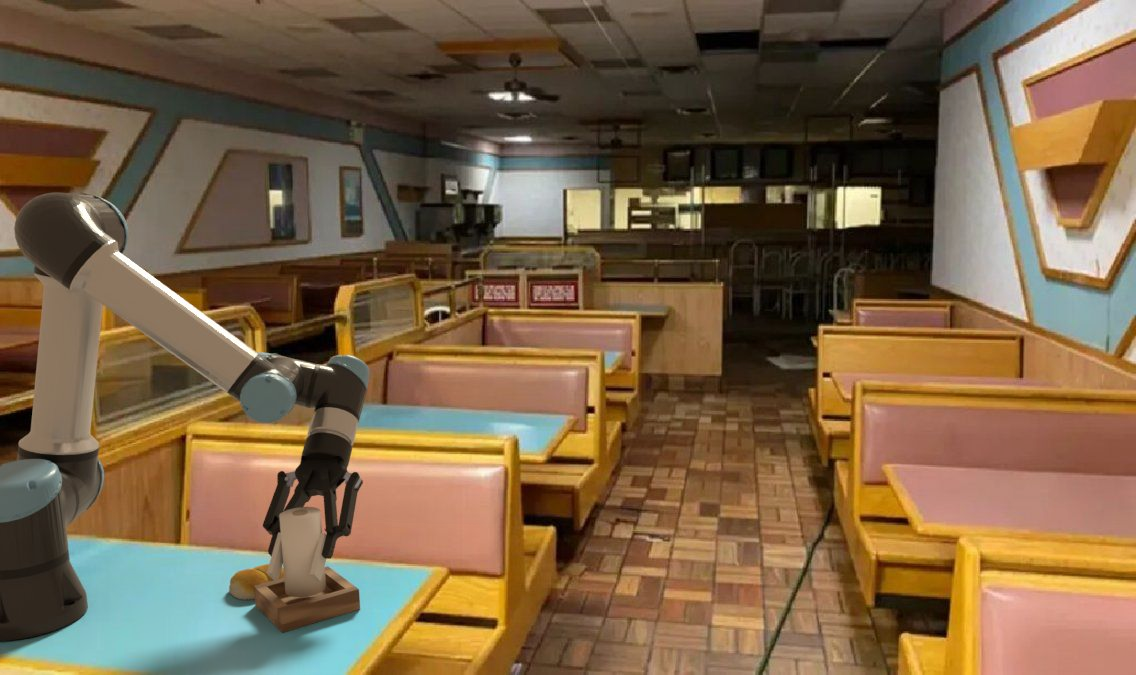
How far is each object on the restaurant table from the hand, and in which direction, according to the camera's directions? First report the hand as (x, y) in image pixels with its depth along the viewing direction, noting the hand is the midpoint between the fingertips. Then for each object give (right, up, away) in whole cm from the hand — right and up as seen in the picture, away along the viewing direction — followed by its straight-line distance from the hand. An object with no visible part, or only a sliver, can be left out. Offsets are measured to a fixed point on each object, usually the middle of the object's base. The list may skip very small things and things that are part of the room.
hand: (293, 577), depth 138 cm
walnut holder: (+1, -6, +4) cm, 7 cm away
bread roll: (-9, -6, +12) cm, 16 cm away
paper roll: (+1, -3, +4) cm, 5 cm away
